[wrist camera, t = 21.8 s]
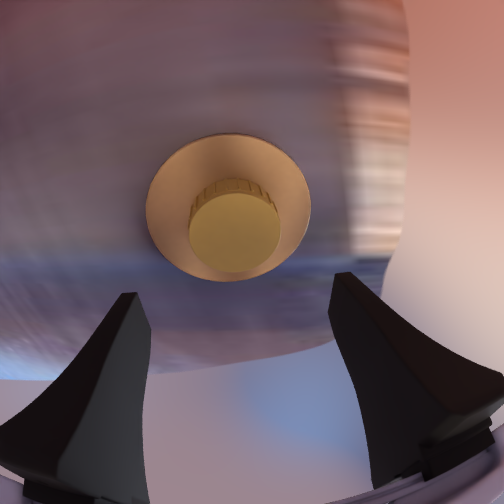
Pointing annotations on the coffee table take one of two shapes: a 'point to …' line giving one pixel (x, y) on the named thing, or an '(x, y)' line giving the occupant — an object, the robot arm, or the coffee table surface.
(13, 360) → the coffee table surface
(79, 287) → the coffee table surface
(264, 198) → the lid
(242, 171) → the coaster
